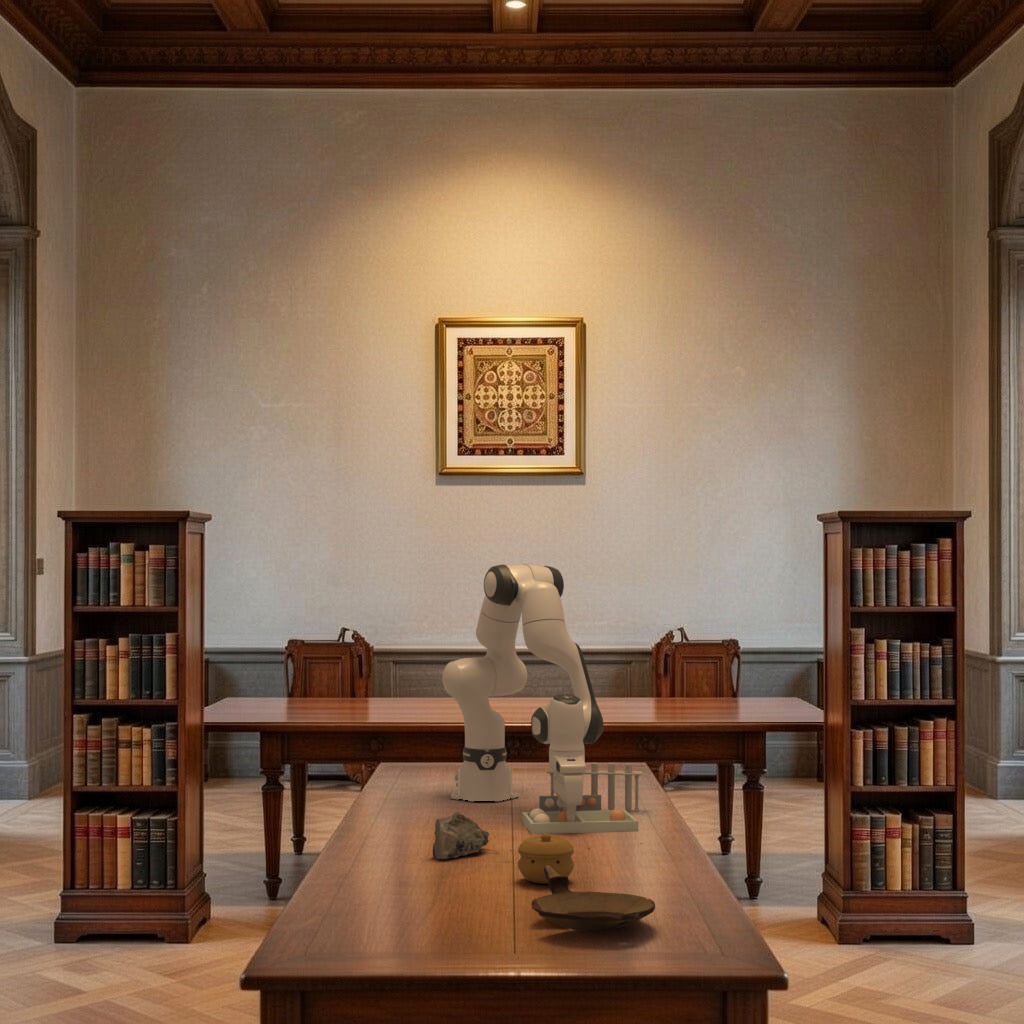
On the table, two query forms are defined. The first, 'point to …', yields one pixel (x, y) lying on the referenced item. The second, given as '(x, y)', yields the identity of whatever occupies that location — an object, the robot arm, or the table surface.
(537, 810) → the ivory ball
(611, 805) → the test tube rack
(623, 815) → the terracotta ball
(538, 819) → the ivory ball
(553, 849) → the pot
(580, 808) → the card
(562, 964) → the table surface
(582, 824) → the twin dish
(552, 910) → the frying pan
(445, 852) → the mineral rock
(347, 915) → the table surface
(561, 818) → the terracotta ball
